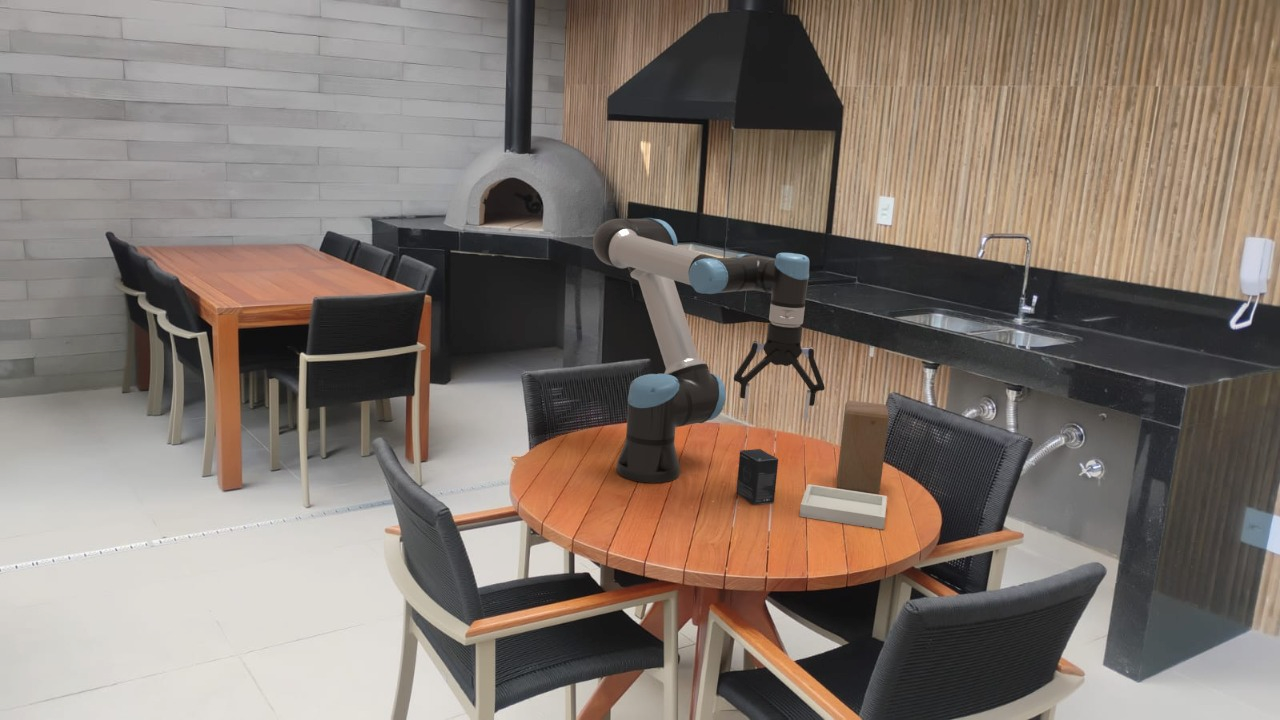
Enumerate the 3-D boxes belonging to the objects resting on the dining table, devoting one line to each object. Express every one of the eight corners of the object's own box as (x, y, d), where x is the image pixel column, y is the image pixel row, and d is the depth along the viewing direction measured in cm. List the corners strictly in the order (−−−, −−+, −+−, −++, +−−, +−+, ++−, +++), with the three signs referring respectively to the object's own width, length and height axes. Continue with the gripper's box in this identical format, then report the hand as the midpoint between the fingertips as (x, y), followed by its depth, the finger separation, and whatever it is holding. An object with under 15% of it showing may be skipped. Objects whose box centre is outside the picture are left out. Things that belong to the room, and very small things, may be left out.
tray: (799, 516, 216) (800, 504, 215) (806, 495, 229) (807, 484, 228) (883, 529, 211) (885, 517, 211) (885, 507, 225) (887, 496, 224)
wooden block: (879, 496, 232) (889, 414, 228) (836, 490, 234) (845, 409, 229) (878, 482, 242) (888, 403, 237) (836, 477, 243) (845, 399, 239)
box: (774, 503, 223) (779, 458, 221) (753, 505, 221) (757, 460, 218) (756, 491, 230) (760, 447, 228) (735, 493, 227) (739, 449, 225)
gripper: (728, 321, 216) (719, 413, 221) (843, 332, 213) (831, 426, 218) (730, 315, 223) (720, 404, 228) (841, 326, 220) (829, 416, 225)
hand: (775, 415), depth 223 cm, fingers open, 13 cm apart
